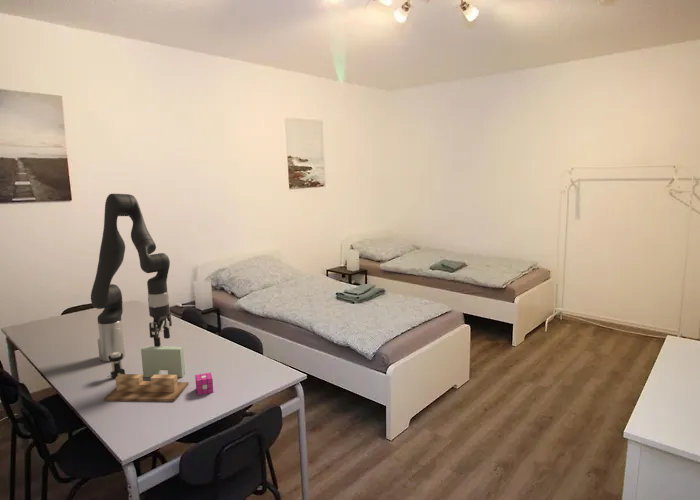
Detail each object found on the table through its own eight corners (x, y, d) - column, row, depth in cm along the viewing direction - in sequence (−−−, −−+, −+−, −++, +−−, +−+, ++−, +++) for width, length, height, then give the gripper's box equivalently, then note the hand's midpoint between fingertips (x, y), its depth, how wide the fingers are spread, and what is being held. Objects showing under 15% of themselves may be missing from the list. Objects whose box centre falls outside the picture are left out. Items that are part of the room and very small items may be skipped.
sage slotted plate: (143, 376, 178) (140, 349, 176) (147, 373, 181) (144, 346, 179) (182, 377, 178) (180, 349, 175) (185, 374, 180) (183, 346, 178)
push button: (110, 382, 174) (108, 358, 172) (104, 378, 177) (102, 355, 175) (127, 376, 179) (125, 352, 177) (121, 372, 182) (118, 349, 180)
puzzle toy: (197, 395, 163) (196, 381, 162) (196, 388, 168) (195, 375, 167) (213, 392, 165) (212, 378, 164) (211, 386, 171) (210, 372, 170)
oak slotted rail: (104, 400, 159) (102, 383, 158) (123, 383, 172) (121, 368, 171) (174, 401, 159) (173, 384, 158) (188, 384, 171) (187, 369, 170)
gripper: (157, 298, 181) (161, 335, 184) (140, 308, 167) (144, 349, 170) (175, 298, 181) (178, 335, 184) (160, 308, 167) (163, 349, 170)
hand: (162, 342), depth 177 cm, fingers open, 8 cm apart
